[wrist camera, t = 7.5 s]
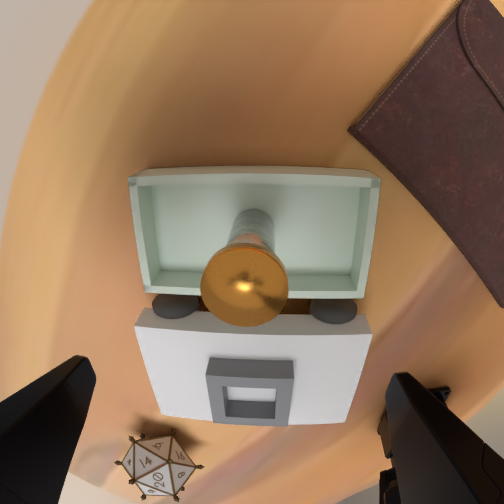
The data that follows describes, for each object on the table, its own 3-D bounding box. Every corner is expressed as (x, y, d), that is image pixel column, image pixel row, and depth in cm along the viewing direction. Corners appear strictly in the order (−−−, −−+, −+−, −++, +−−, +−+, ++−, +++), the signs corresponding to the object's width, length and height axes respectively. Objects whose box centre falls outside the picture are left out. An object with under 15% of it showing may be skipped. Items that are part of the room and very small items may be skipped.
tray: (367, 170, 17) (380, 178, 15) (354, 277, 20) (363, 298, 17) (145, 169, 18) (127, 177, 15) (157, 273, 21) (144, 292, 18)
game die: (158, 406, 33) (99, 428, 23) (221, 436, 30) (171, 473, 20) (149, 461, 32) (96, 488, 23) (206, 491, 29) (160, 532, 20)
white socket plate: (358, 293, 20) (380, 346, 15) (337, 387, 24) (345, 440, 19) (153, 287, 21) (123, 337, 16) (174, 381, 25) (157, 431, 20)
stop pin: (284, 200, 17) (290, 252, 11) (282, 255, 19) (286, 327, 13) (223, 199, 18) (196, 250, 11) (225, 254, 19) (203, 324, 13)
